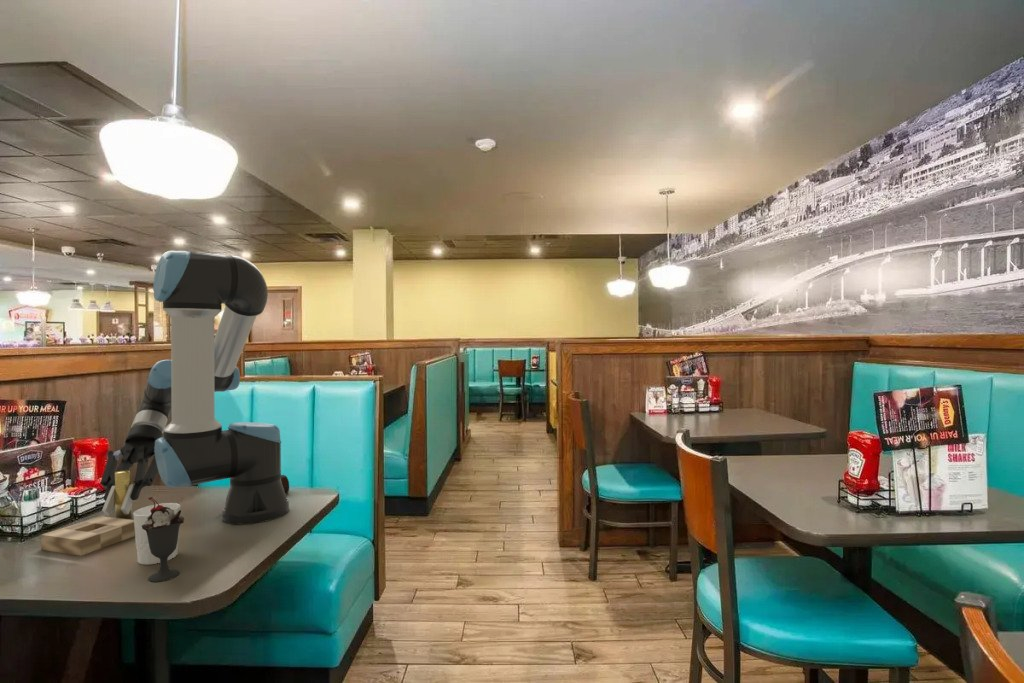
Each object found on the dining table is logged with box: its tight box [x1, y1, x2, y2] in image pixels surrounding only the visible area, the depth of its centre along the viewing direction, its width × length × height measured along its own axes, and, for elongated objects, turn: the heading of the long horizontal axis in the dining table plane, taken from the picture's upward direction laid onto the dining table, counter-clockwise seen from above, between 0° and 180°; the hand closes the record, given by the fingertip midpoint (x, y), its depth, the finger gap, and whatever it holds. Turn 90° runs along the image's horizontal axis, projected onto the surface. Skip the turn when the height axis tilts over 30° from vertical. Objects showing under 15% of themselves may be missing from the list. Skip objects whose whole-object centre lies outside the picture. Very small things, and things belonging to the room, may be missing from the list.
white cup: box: [132, 502, 181, 566], centre depth 105 cm, size 8×8×10 cm
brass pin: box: [114, 469, 133, 520], centre depth 127 cm, size 3×3×12 cm
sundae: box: [141, 496, 185, 583], centre depth 97 cm, size 7×7×15 cm
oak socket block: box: [40, 516, 135, 556], centre depth 113 cm, size 12×12×4 cm
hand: (115, 512), depth 123 cm, fingers closed on brass pin, 3 cm apart
